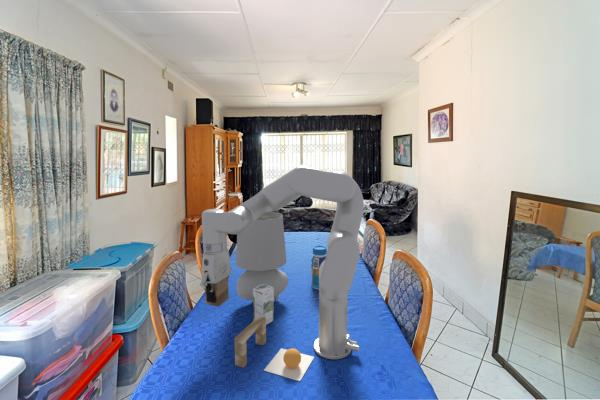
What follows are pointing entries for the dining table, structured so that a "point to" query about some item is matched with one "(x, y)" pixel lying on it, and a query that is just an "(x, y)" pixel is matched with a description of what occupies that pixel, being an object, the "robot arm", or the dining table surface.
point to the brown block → (220, 292)
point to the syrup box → (263, 302)
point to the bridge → (241, 338)
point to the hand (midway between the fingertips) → (217, 297)
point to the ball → (292, 358)
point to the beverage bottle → (317, 264)
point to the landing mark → (281, 369)
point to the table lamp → (262, 255)
